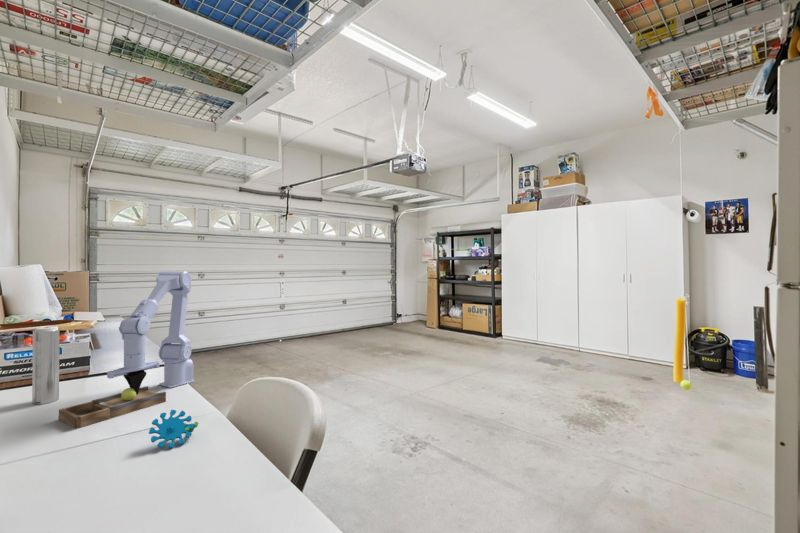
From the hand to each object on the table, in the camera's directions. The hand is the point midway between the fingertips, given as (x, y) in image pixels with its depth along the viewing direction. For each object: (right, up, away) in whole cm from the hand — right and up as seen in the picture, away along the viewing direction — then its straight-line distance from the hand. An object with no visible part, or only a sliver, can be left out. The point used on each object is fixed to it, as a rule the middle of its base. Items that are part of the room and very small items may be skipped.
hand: (134, 394), depth 120 cm
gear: (+29, -4, -25) cm, 38 cm away
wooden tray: (-3, -3, -4) cm, 6 cm away
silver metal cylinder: (-32, -3, +3) cm, 32 cm away
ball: (-1, 0, -1) cm, 2 cm away
